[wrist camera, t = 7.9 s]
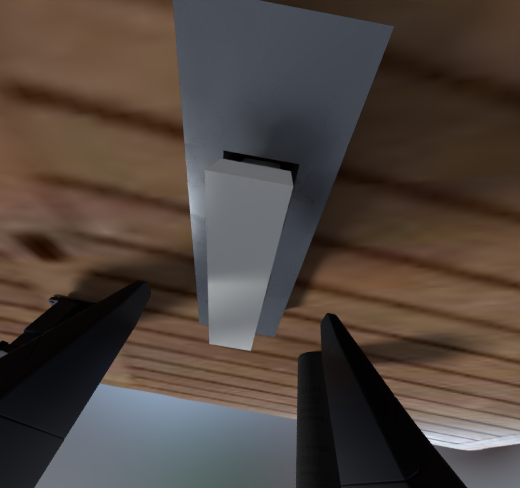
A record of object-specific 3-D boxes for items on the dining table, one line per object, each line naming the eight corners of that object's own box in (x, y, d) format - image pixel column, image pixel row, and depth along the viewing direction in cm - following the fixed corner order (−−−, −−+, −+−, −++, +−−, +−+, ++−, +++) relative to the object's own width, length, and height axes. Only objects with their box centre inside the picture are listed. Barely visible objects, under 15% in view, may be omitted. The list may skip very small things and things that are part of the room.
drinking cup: (288, 345, 26) (300, 732, 10) (344, 348, 25) (463, 785, 9) (288, 368, 30) (297, 662, 14) (336, 371, 29) (405, 692, 13)
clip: (259, 279, 19) (250, 350, 13) (231, 274, 19) (209, 343, 13) (287, 151, 12) (293, 186, 6) (241, 143, 12) (204, 170, 6)
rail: (274, 312, 22) (274, 337, 19) (208, 300, 22) (199, 324, 19) (363, 50, 9) (394, 26, 6) (201, 20, 9) (171, -17, 6)
